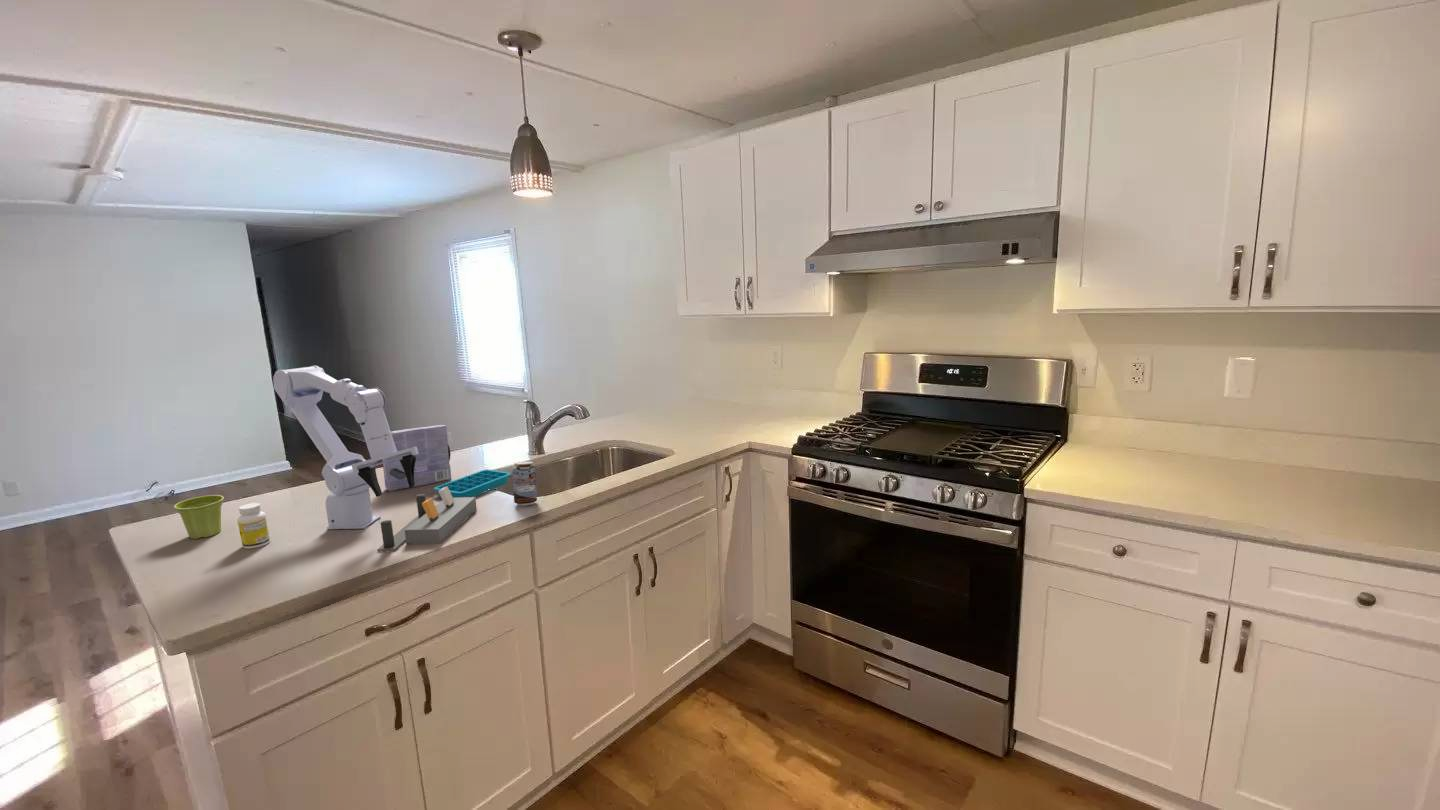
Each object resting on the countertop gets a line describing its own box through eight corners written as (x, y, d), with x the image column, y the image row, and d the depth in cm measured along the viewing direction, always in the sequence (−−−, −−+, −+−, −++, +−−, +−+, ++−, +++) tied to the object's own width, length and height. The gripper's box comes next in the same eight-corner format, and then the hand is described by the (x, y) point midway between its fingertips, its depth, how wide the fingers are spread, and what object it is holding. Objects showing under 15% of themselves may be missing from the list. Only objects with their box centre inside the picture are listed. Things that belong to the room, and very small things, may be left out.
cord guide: (377, 552, 138) (373, 524, 136) (418, 518, 158) (415, 493, 157) (395, 552, 138) (391, 524, 137) (433, 517, 159) (431, 493, 157)
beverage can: (513, 509, 163) (510, 467, 160) (515, 500, 170) (511, 459, 167) (538, 507, 164) (534, 465, 162) (538, 498, 171) (535, 457, 169)
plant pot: (239, 528, 153) (233, 496, 151) (198, 543, 144) (192, 509, 143) (212, 525, 156) (205, 493, 154) (171, 540, 147) (163, 506, 145)
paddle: (445, 508, 155) (438, 491, 154) (451, 504, 158) (443, 487, 157) (450, 507, 155) (442, 489, 154) (455, 502, 158) (447, 485, 157)
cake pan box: (451, 475, 194) (445, 422, 191) (455, 479, 190) (449, 424, 187) (384, 488, 182) (377, 432, 179) (388, 492, 178) (380, 435, 175)
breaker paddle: (429, 521, 146) (421, 503, 145) (435, 516, 149) (427, 499, 148) (434, 520, 146) (425, 502, 145) (440, 515, 149) (431, 497, 148)
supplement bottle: (247, 542, 145) (240, 503, 143) (274, 538, 147) (267, 500, 145) (238, 551, 140) (231, 511, 138) (266, 547, 142) (259, 507, 140)
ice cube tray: (432, 498, 174) (431, 488, 173) (486, 478, 192) (485, 469, 191) (461, 503, 169) (460, 493, 169) (513, 482, 187) (513, 473, 186)
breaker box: (406, 543, 142) (404, 529, 141) (447, 509, 163) (445, 497, 163) (440, 543, 142) (438, 529, 141) (476, 509, 163) (475, 497, 163)
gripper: (340, 448, 140) (358, 503, 141) (405, 430, 143) (422, 484, 144) (351, 445, 147) (368, 498, 148) (413, 428, 150) (430, 480, 151)
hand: (396, 491), depth 146 cm, fingers open, 7 cm apart
